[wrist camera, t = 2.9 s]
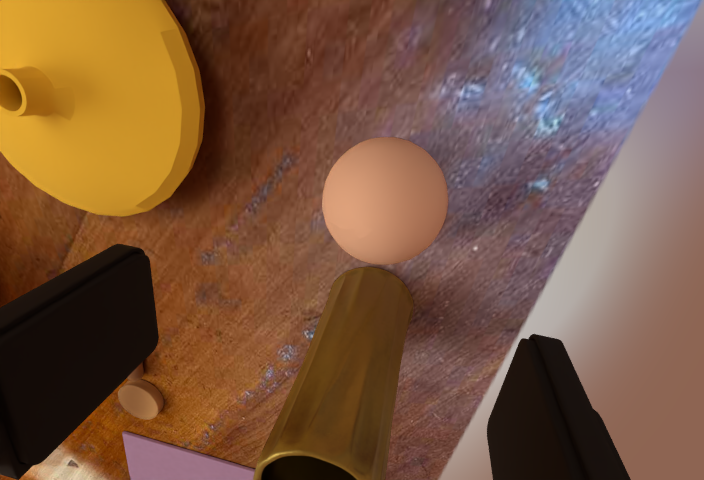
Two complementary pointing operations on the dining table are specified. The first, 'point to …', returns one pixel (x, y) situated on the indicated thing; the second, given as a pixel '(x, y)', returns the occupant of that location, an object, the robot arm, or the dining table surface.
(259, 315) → the dining table surface
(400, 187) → the egg
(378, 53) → the dining table surface
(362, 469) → the vase
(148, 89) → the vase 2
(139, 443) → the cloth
